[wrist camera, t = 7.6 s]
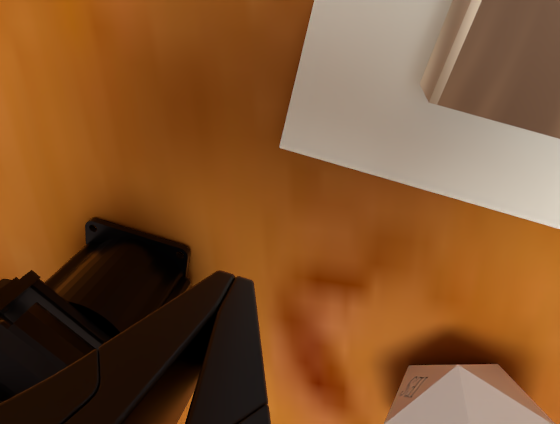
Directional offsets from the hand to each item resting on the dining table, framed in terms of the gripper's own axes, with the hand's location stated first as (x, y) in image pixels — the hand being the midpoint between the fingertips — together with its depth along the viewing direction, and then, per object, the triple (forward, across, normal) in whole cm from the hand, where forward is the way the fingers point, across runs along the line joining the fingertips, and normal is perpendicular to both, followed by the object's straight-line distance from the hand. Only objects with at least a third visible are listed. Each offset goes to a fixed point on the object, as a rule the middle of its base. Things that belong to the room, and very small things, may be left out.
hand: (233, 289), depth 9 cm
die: (+12, -13, +13) cm, 22 cm away
